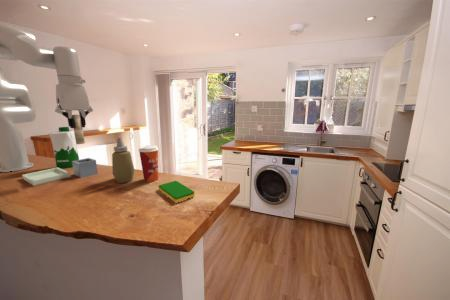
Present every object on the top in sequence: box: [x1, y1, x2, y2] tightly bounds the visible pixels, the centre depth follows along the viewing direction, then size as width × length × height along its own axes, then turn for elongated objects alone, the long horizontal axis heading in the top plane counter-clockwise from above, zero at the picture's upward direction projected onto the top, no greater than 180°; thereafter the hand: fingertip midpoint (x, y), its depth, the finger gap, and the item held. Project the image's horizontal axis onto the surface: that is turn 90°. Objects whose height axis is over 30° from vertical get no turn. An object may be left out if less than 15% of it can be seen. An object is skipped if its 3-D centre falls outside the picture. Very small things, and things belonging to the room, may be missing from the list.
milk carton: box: [48, 126, 80, 169], centre depth 99 cm, size 9×9×20 cm
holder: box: [72, 157, 99, 179], centre depth 88 cm, size 7×7×7 cm
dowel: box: [72, 114, 86, 145], centre depth 84 cm, size 3×3×12 cm
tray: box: [21, 166, 72, 187], centre depth 84 cm, size 14×12×3 cm
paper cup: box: [138, 144, 159, 183], centre depth 83 cm, size 8×8×14 cm
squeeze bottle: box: [111, 137, 135, 184], centre depth 81 cm, size 8×8×18 cm
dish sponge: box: [157, 180, 196, 204], centre depth 70 cm, size 7×14×2 cm, turn 40°
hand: (77, 127), depth 84 cm, fingers closed on dowel, 3 cm apart
